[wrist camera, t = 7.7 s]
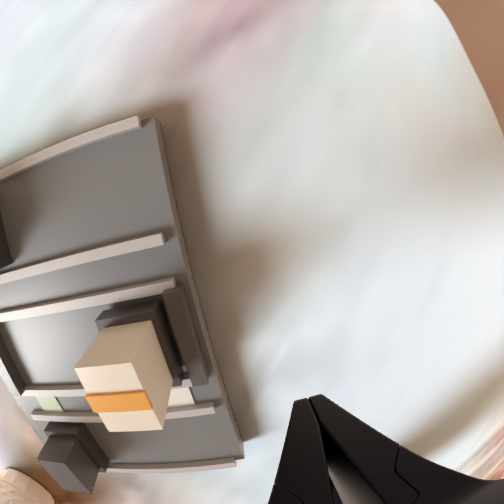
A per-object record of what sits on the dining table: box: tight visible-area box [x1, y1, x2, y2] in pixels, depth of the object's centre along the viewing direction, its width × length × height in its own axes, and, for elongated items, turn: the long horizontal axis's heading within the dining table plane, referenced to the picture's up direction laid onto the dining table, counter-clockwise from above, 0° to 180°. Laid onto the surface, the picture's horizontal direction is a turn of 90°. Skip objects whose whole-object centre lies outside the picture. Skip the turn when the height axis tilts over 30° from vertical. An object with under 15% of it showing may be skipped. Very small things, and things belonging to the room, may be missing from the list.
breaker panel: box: [0, 116, 244, 494], centre depth 13 cm, size 15×20×5 cm
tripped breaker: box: [74, 300, 184, 432], centre depth 12 cm, size 3×4×5 cm
